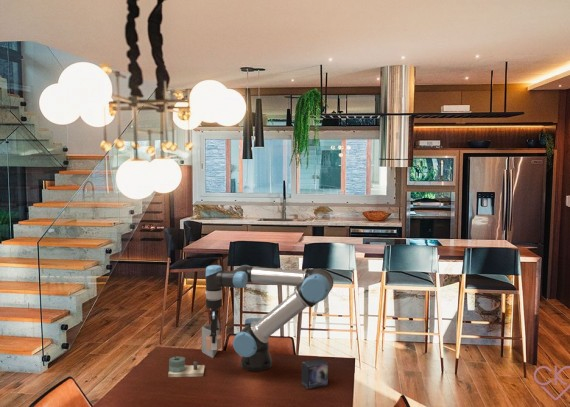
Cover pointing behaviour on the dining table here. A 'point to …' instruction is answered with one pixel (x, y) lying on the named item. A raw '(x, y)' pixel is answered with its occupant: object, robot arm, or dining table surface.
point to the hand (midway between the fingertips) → (214, 346)
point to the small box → (314, 374)
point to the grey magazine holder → (205, 332)
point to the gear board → (189, 372)
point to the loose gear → (219, 342)
